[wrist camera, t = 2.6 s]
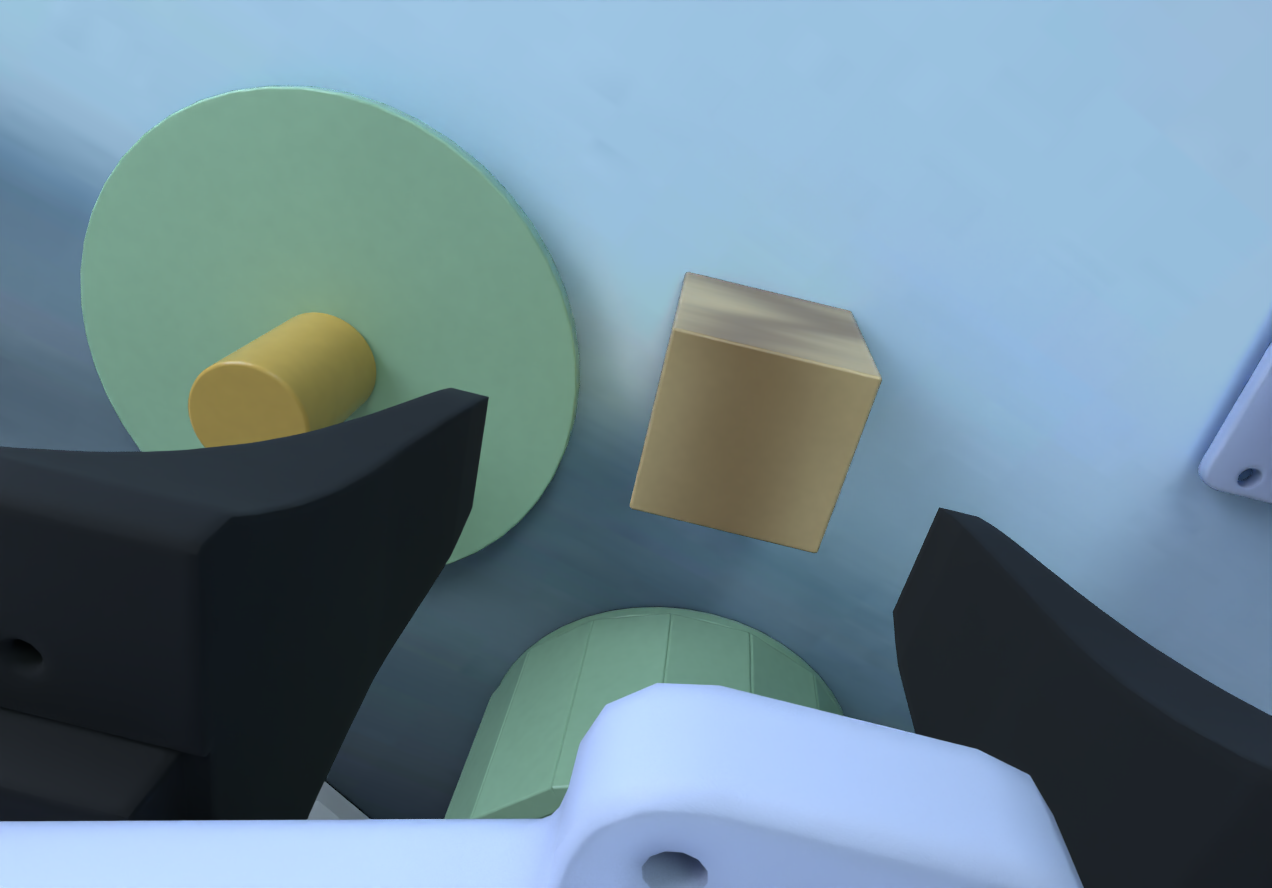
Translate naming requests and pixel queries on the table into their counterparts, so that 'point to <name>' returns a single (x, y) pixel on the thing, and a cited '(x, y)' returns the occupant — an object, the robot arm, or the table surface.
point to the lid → (325, 287)
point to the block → (755, 413)
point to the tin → (609, 696)
